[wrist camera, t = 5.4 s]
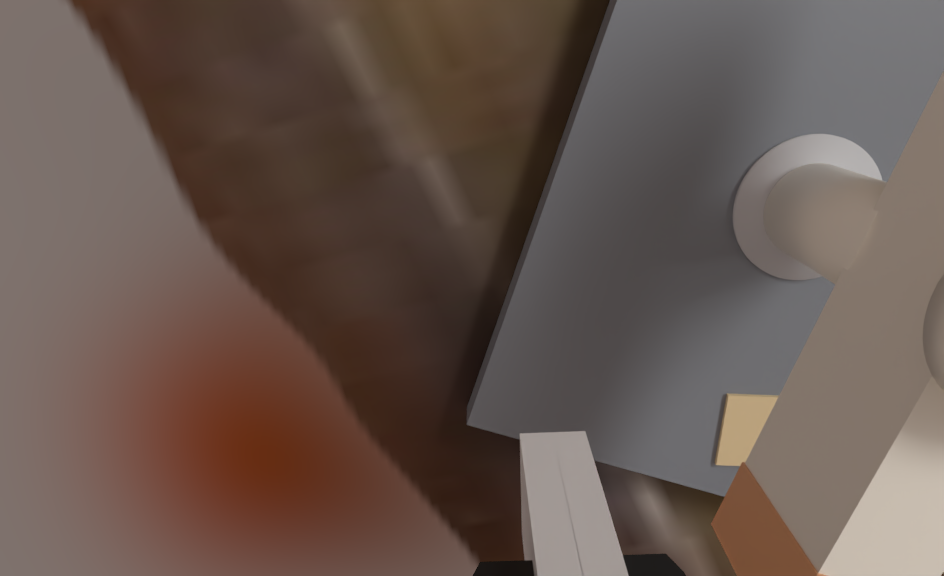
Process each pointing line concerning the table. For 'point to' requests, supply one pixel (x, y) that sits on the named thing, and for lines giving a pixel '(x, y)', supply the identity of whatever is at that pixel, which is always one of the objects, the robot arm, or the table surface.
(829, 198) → the white pivoting lever
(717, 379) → the tuner board
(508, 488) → the table surface
